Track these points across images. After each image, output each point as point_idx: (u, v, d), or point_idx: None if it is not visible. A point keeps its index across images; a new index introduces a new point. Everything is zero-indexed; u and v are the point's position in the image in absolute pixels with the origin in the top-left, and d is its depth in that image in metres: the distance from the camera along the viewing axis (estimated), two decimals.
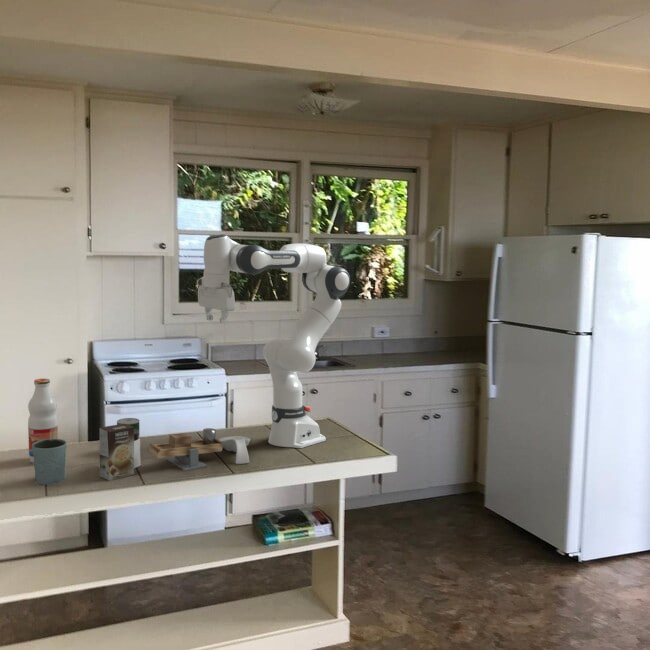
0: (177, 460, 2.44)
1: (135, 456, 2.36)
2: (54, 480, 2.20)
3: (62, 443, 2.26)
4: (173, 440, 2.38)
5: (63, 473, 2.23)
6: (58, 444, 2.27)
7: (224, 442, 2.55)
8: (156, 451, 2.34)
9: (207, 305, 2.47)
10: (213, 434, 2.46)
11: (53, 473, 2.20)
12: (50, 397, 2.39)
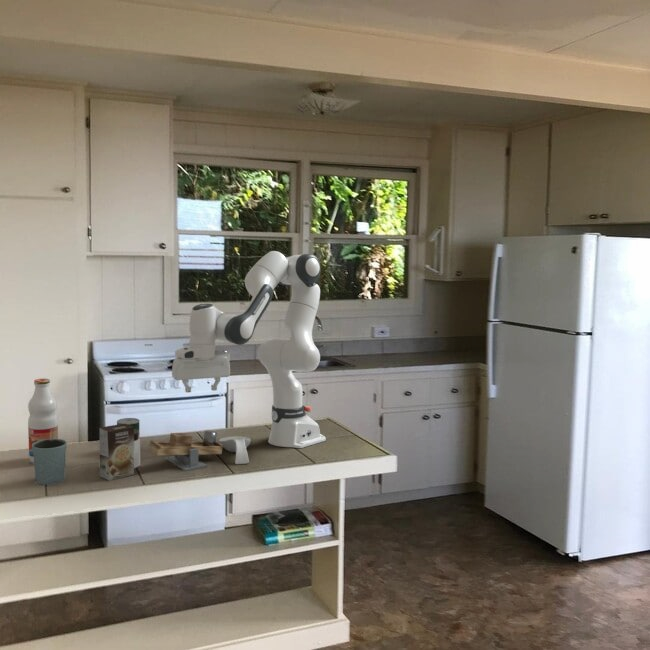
0: (177, 460, 2.44)
1: (135, 456, 2.36)
2: (54, 480, 2.20)
3: (62, 443, 2.26)
4: (174, 439, 2.38)
5: (63, 473, 2.23)
6: (58, 444, 2.27)
7: (224, 442, 2.55)
8: (156, 448, 2.34)
9: (195, 376, 2.40)
10: (214, 436, 2.46)
11: (53, 473, 2.20)
12: (50, 397, 2.39)
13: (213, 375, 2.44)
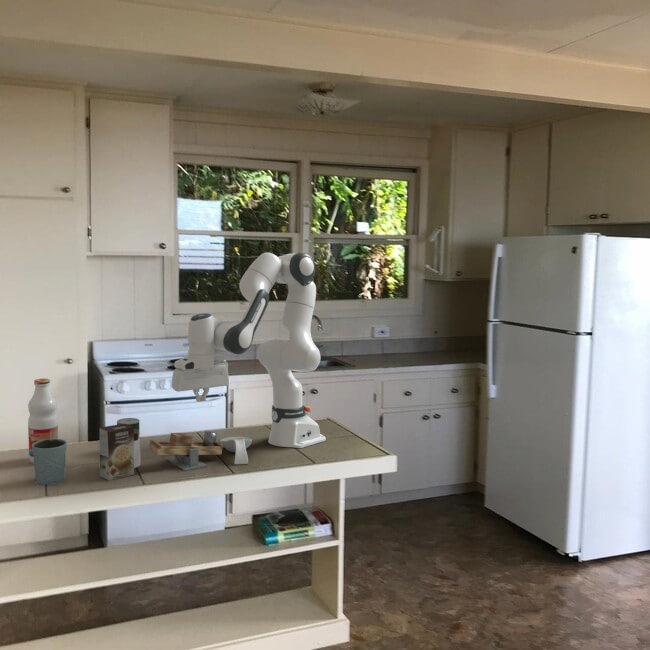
0: (177, 460, 2.44)
1: (135, 456, 2.36)
2: (54, 480, 2.20)
3: (62, 443, 2.26)
4: (174, 438, 2.38)
5: (63, 473, 2.23)
6: (58, 444, 2.27)
7: (225, 442, 2.54)
8: (156, 447, 2.34)
9: (195, 387, 2.40)
10: (214, 436, 2.46)
11: (53, 473, 2.20)
12: (50, 397, 2.39)
13: (213, 385, 2.44)
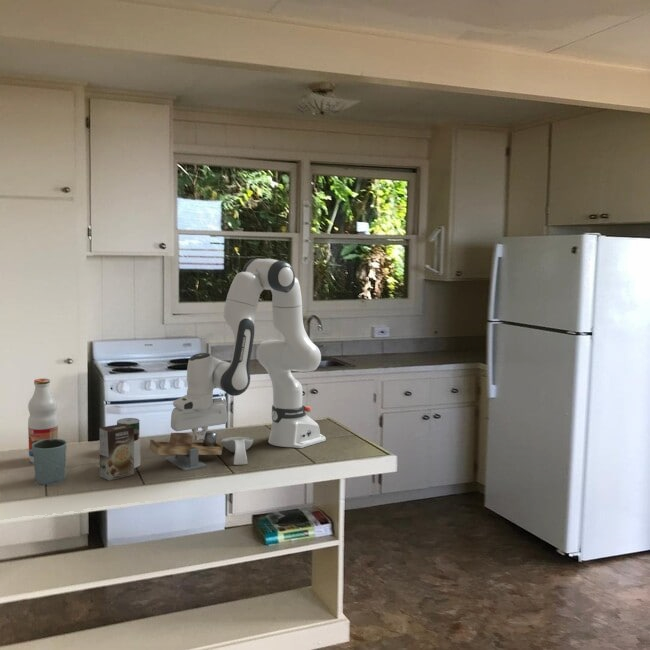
0: (177, 460, 2.44)
1: (135, 456, 2.36)
2: (54, 480, 2.20)
3: (62, 443, 2.26)
4: (174, 438, 2.38)
5: (63, 473, 2.23)
6: (58, 444, 2.27)
7: (226, 442, 2.54)
8: (156, 447, 2.34)
9: (194, 426, 2.41)
10: (214, 437, 2.46)
11: (53, 473, 2.20)
12: (50, 397, 2.39)
13: (211, 423, 2.45)
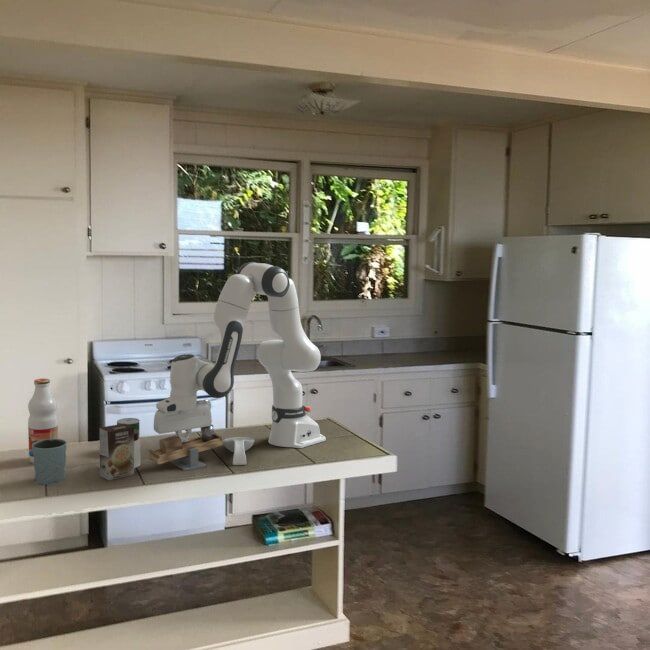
0: (177, 460, 2.44)
1: (135, 456, 2.36)
2: (54, 480, 2.20)
3: (62, 443, 2.26)
4: (163, 445, 2.36)
5: (63, 473, 2.23)
6: (58, 444, 2.27)
7: (226, 442, 2.54)
8: (155, 457, 2.34)
9: (177, 429, 2.37)
10: (211, 430, 2.45)
11: (53, 473, 2.20)
12: (50, 397, 2.39)
13: (195, 426, 2.42)
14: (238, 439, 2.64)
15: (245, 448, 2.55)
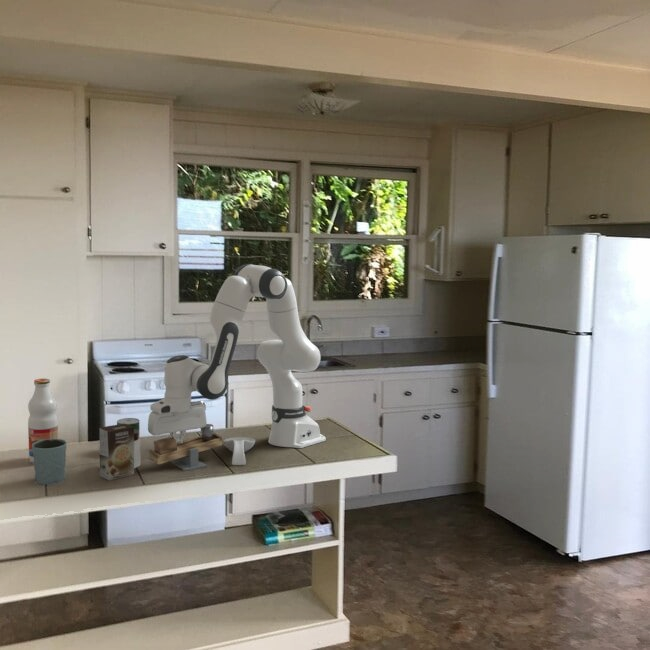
0: (177, 460, 2.44)
1: (135, 456, 2.36)
2: (54, 480, 2.20)
3: (62, 443, 2.26)
4: (158, 447, 2.35)
5: (63, 473, 2.23)
6: (58, 444, 2.27)
7: (227, 443, 2.54)
8: (155, 457, 2.34)
9: (171, 430, 2.36)
10: (211, 430, 2.45)
11: (53, 473, 2.20)
12: (50, 397, 2.39)
13: (190, 427, 2.40)
14: (239, 439, 2.64)
15: (245, 448, 2.55)
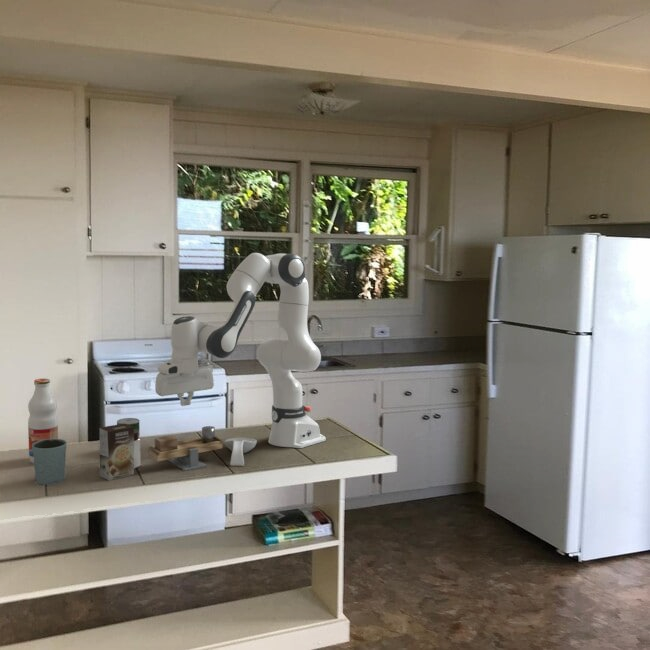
0: (177, 460, 2.44)
1: (135, 456, 2.36)
2: (54, 480, 2.20)
3: (62, 443, 2.26)
4: (159, 444, 2.35)
5: (63, 473, 2.23)
6: (58, 444, 2.27)
7: (227, 443, 2.54)
8: (155, 454, 2.34)
9: (179, 391, 2.36)
10: (212, 432, 2.46)
11: (53, 473, 2.20)
12: (50, 397, 2.39)
13: (197, 388, 2.40)
14: (242, 440, 2.64)
15: (246, 449, 2.54)
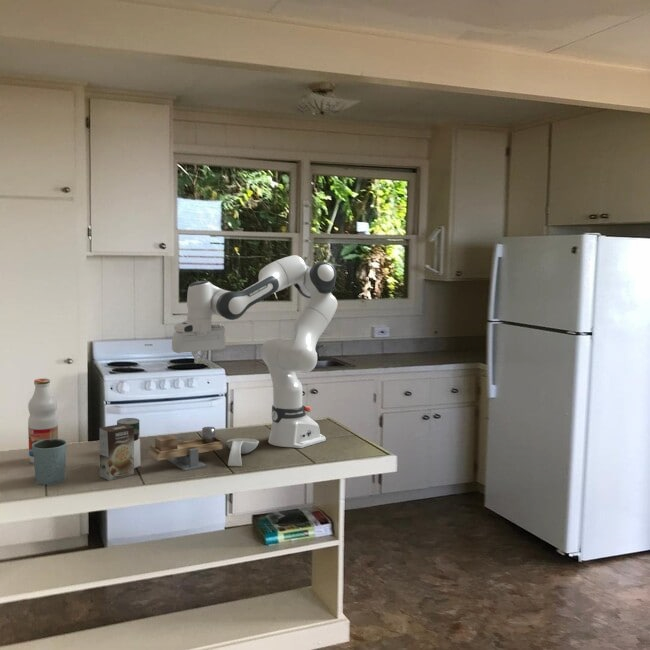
0: (177, 460, 2.44)
1: (135, 456, 2.36)
2: (54, 480, 2.20)
3: (62, 443, 2.26)
4: (159, 443, 2.35)
5: (63, 473, 2.23)
6: (58, 444, 2.27)
7: (228, 443, 2.54)
8: (155, 453, 2.34)
9: (193, 349, 2.56)
10: (212, 432, 2.46)
11: (53, 473, 2.20)
12: (50, 397, 2.39)
13: (210, 347, 2.60)
14: (244, 440, 2.63)
15: (247, 449, 2.54)
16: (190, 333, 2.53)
